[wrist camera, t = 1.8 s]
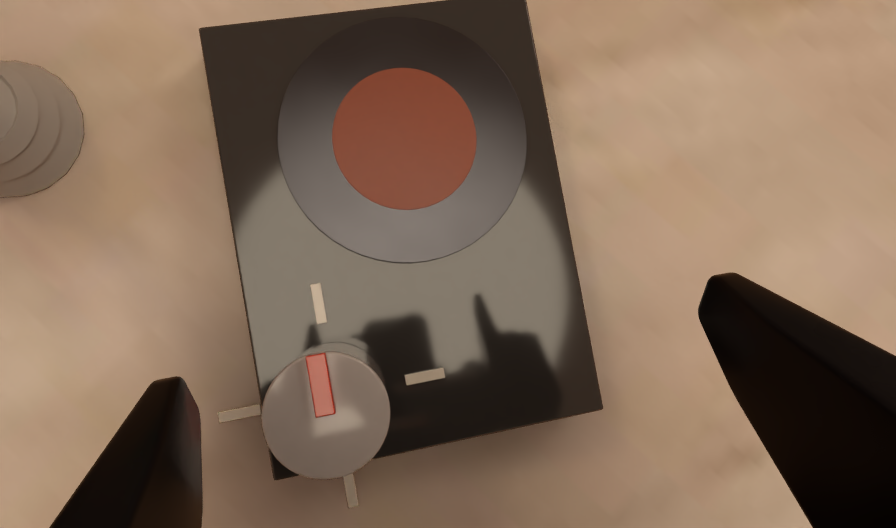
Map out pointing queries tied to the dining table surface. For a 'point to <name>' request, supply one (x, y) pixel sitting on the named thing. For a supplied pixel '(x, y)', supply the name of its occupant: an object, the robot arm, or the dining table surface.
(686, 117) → the dining table surface
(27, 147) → the chalice
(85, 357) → the dining table surface
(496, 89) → the burner
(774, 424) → the robot arm
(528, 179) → the hob
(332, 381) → the hob knob
